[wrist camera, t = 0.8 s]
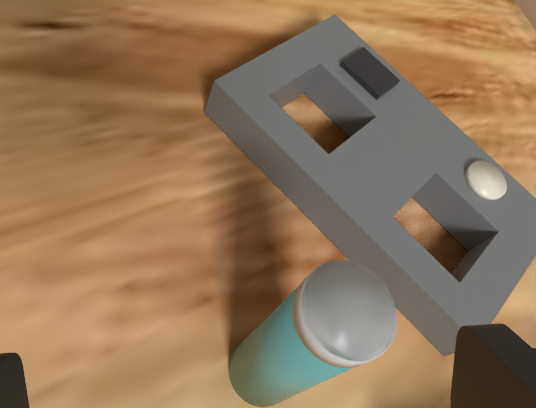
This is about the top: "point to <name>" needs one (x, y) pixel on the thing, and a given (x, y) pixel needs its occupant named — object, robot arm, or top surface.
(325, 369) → the plug
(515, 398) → the robot arm
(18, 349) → the top surface
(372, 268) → the socket block
